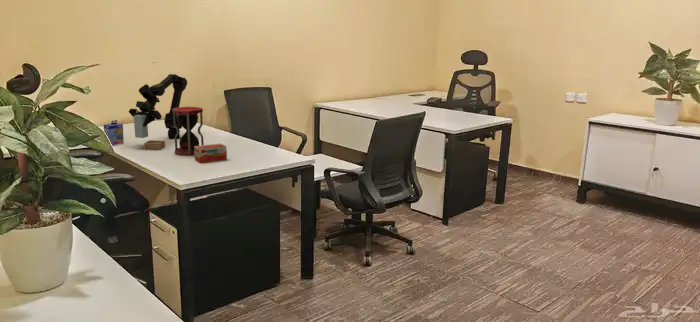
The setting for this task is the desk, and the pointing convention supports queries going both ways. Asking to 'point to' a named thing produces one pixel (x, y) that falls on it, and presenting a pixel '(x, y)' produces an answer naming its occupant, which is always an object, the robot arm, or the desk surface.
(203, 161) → the medicine box
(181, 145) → the hourglass
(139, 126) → the slate post
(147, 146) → the walnut block
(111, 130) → the ink cartridge box
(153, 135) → the desk surface
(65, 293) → the desk surface
